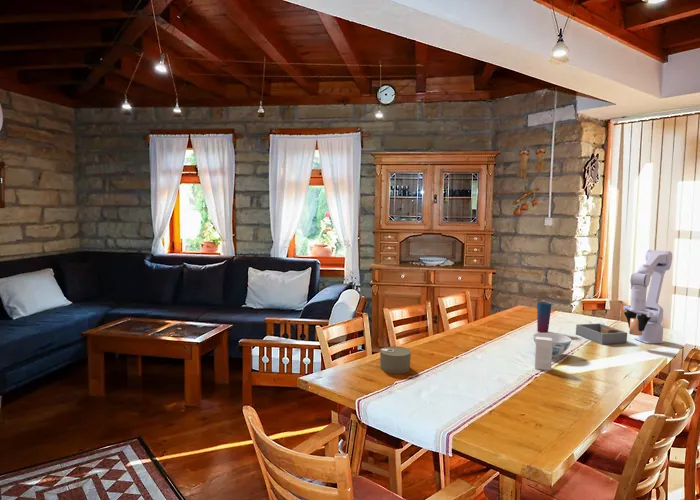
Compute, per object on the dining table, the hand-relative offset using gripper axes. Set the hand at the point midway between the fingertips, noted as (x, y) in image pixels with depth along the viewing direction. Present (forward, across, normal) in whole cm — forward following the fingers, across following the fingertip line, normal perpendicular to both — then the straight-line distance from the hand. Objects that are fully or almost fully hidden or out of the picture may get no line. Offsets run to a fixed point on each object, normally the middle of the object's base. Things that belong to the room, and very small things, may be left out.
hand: (636, 329), depth 216 cm
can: (+9, +5, -116) cm, 117 cm away
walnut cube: (+8, -13, -2) cm, 15 cm away
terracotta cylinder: (+2, 0, 0) cm, 2 cm away
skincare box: (+9, +16, -59) cm, 62 cm away
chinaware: (+9, +2, -45) cm, 46 cm away
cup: (+9, -32, -25) cm, 42 cm away
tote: (+9, -16, -4) cm, 19 cm away
